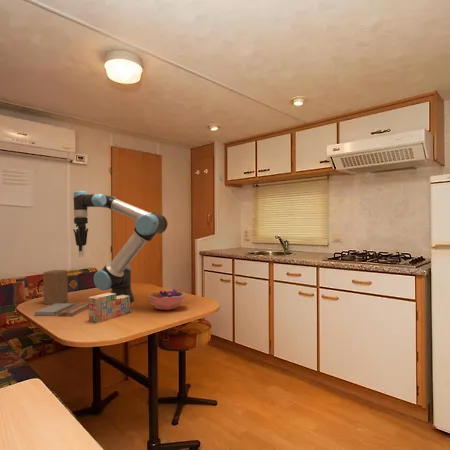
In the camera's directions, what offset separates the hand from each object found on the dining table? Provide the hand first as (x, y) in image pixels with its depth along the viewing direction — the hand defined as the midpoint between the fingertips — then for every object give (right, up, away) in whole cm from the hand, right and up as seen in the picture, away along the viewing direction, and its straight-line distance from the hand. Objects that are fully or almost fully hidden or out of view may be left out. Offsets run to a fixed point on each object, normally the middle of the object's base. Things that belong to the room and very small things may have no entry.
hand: (81, 256), depth 196 cm
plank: (-9, -29, -13) cm, 33 cm away
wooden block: (-19, -30, +7) cm, 36 cm away
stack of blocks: (+26, -30, -25) cm, 47 cm away
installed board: (+3, -29, -14) cm, 33 cm away
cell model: (+54, -29, -12) cm, 62 cm away
